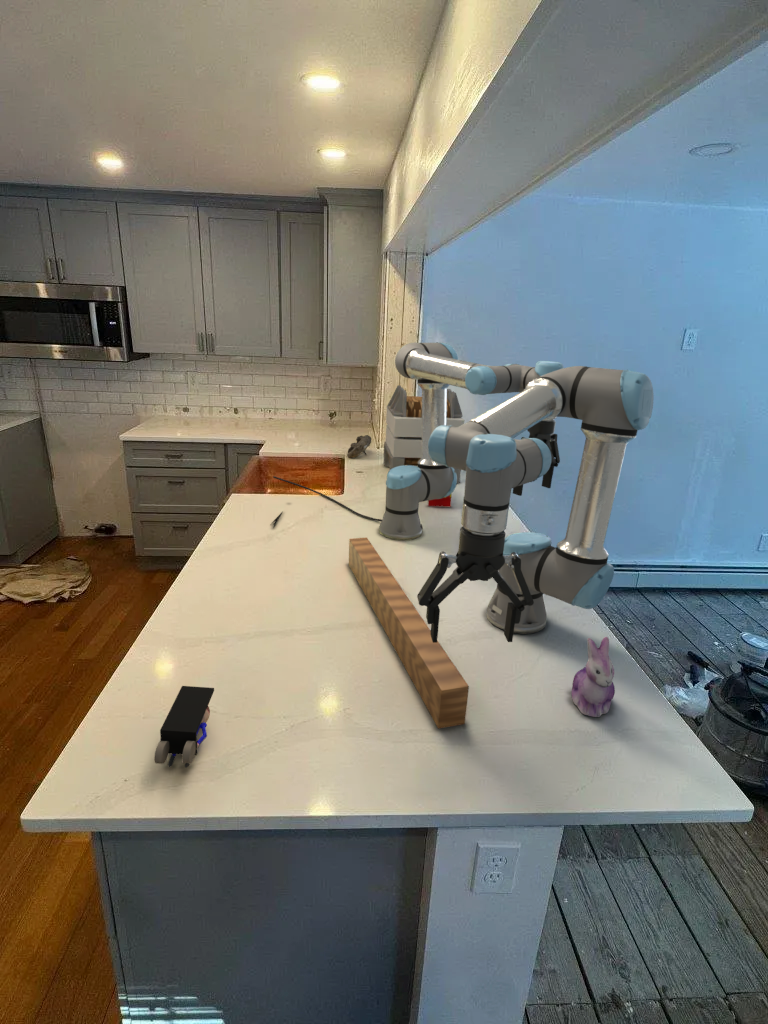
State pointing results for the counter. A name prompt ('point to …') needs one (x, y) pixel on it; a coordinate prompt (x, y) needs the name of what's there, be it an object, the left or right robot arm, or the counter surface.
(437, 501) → the red striped box
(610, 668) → the figurine
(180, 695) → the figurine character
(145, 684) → the counter surface
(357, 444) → the fossil
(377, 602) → the post
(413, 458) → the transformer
